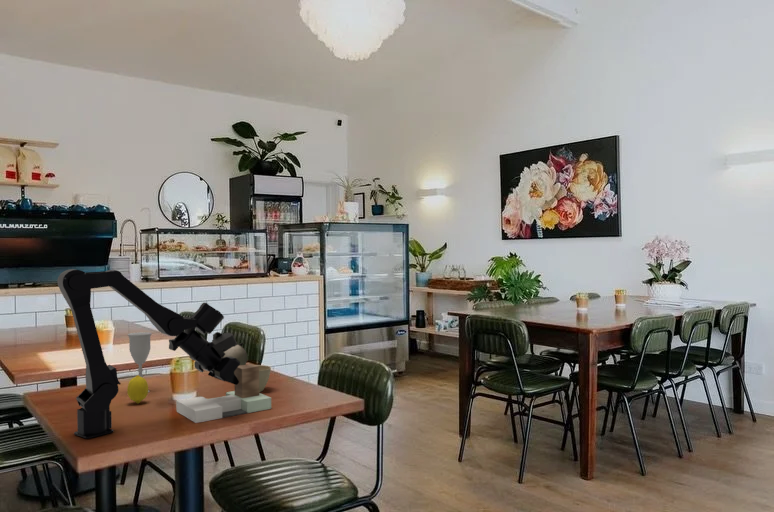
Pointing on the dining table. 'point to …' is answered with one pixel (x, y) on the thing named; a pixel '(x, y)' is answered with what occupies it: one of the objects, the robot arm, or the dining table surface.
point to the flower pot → (263, 376)
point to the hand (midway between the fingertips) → (237, 383)
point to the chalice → (139, 348)
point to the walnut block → (247, 381)
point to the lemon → (137, 389)
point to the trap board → (221, 406)
